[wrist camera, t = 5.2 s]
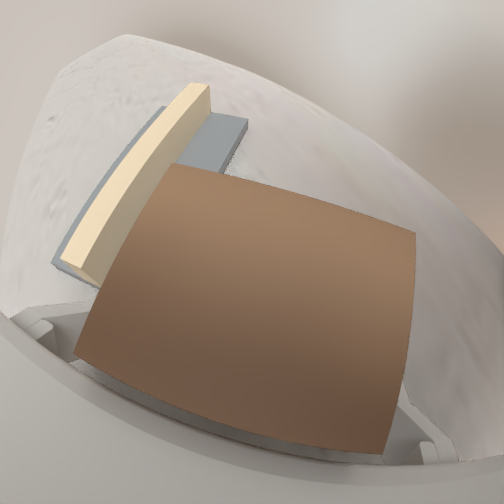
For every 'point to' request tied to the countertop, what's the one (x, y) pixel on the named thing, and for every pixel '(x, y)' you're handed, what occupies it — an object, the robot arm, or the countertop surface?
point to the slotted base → (146, 178)
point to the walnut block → (259, 311)
